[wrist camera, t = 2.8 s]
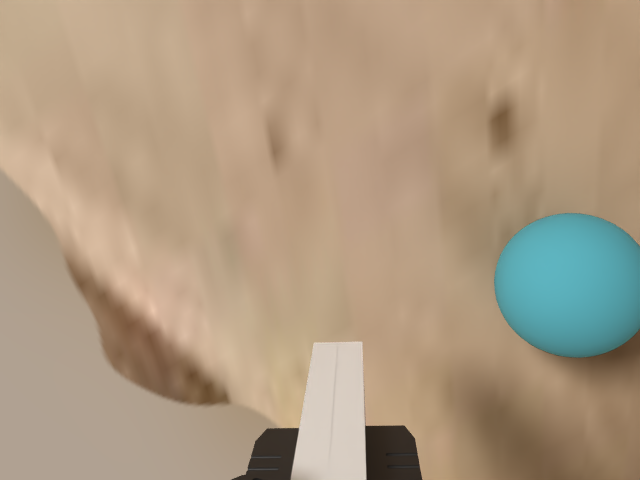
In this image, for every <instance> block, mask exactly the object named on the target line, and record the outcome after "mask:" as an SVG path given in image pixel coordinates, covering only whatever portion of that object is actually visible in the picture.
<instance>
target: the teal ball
mask: <svg viewBox="0 0 640 480" xmlns="http://www.w3.org/2000/svg"><path fill="white" fill-rule="evenodd" d="M494 285H495V294H496V299H497V303H498V306H499V308H500V310H501V312H502V314H503V316H504V318H505V320H506V321H507V323H508V324H509V325H510V327H511V328H512V329H513V330H514V331H515V332H516V333H517V334H518V335H519V336H520V337H521V338H523V339H524V340H525V341H527V342H528V343H529V344H531V345H533V346H534V347H536V348H538V349H541V350H543V351H545V352H548V353H551V354H554V355H558V356H564V357H578V358H581V357H590V356H596V355H600V354H603V353H606V352H609V351H611V350H613V349H616V348H617V347H619V346H621V345H623V344H624V343H625V342H627V341H628V340H629V339H630V338H632V337H633V336H634V335H635V334H636V333H637V331H638V330H639V329H640V246H639V245H638V244H637V243H636V242H635V240H634V239H633V238H632V237H631V236H630V235H629V234H627V233H626V232H625V231H624V230H622V229H621V228H619V227H618V226H616V225H614V224H613V223H611V222H608V221H606V220H604V219H601V218H598V217H595V216H591V215H585V214H576V213H565V214H557V215H552V216H548V217H545V218H542V219H539V220H537V221H535V222H533V223H531V224H529V225H527V226H526V227H524V228H523V229H521V230H520V231H519V232H518V233H517V234H515V235H514V237H513V238H512V239H511V240H510V241H509V242H508V244H507V245H506V246H505V248H504V250H503V251H502V253H501V255H500V258H499V260H498V263H497V267H496V271H495V279H494Z"/></svg>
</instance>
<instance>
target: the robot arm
mask: <svg viewBox="0 0 640 480" xmlns="http://www.w3.org/2000/svg"><path fill="white" fill-rule="evenodd" d="M232 480H422V476H421V471H420V465H419V459H418V455H417V448H416V442H415V438H414V437H413V436H412V434H411V433H410V432H409V431H408V429H407V428H406V427H405V426H366V420H365V396H364V372H363V347H362V342H328V343H314V346H313V352H312V357H311V363H310V369H309V375H308V381H307V387H306V392H305V398H304V404H303V410H302V416H301V421H300V427H299V428H275V429H266V430H265V432H264V433H263V434H262V435H261V436H260V437H259V438H258V439H257V440H256V442H255V445H254V448H253V452H252V455H251V459H250V462H249V465H248V471H247V472H246V475H242V476H239V477H237V478H234V479H232Z"/></svg>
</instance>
